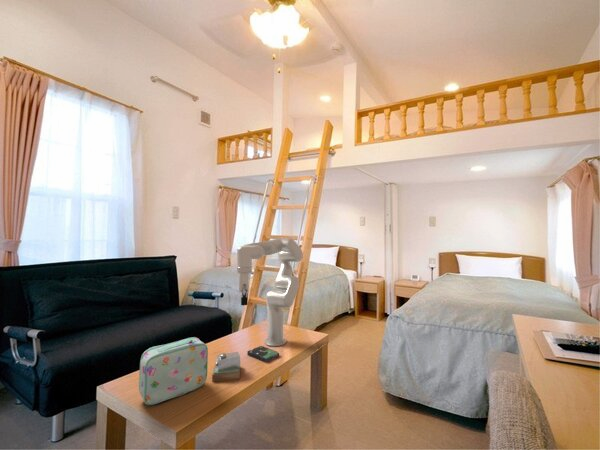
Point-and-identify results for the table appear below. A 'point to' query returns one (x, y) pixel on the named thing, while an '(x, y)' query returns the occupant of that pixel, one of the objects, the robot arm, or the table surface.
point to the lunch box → (172, 370)
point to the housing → (228, 361)
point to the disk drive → (263, 354)
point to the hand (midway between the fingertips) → (244, 302)
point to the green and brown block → (225, 374)
